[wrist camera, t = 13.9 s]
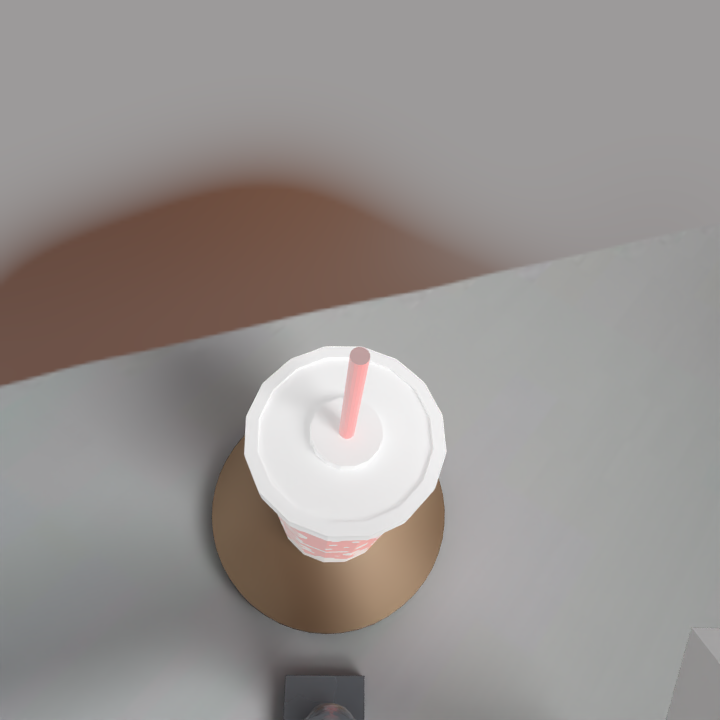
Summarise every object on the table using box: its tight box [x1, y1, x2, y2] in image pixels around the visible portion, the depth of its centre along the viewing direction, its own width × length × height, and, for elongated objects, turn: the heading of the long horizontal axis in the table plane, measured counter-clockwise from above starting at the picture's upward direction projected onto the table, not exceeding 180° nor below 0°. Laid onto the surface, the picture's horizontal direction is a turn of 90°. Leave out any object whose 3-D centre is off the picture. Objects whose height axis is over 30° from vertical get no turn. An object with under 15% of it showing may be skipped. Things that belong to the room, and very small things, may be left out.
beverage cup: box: [244, 346, 447, 562], centre depth 20 cm, size 6×6×14 cm
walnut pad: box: [212, 436, 445, 634], centre depth 27 cm, size 10×10×1 cm
